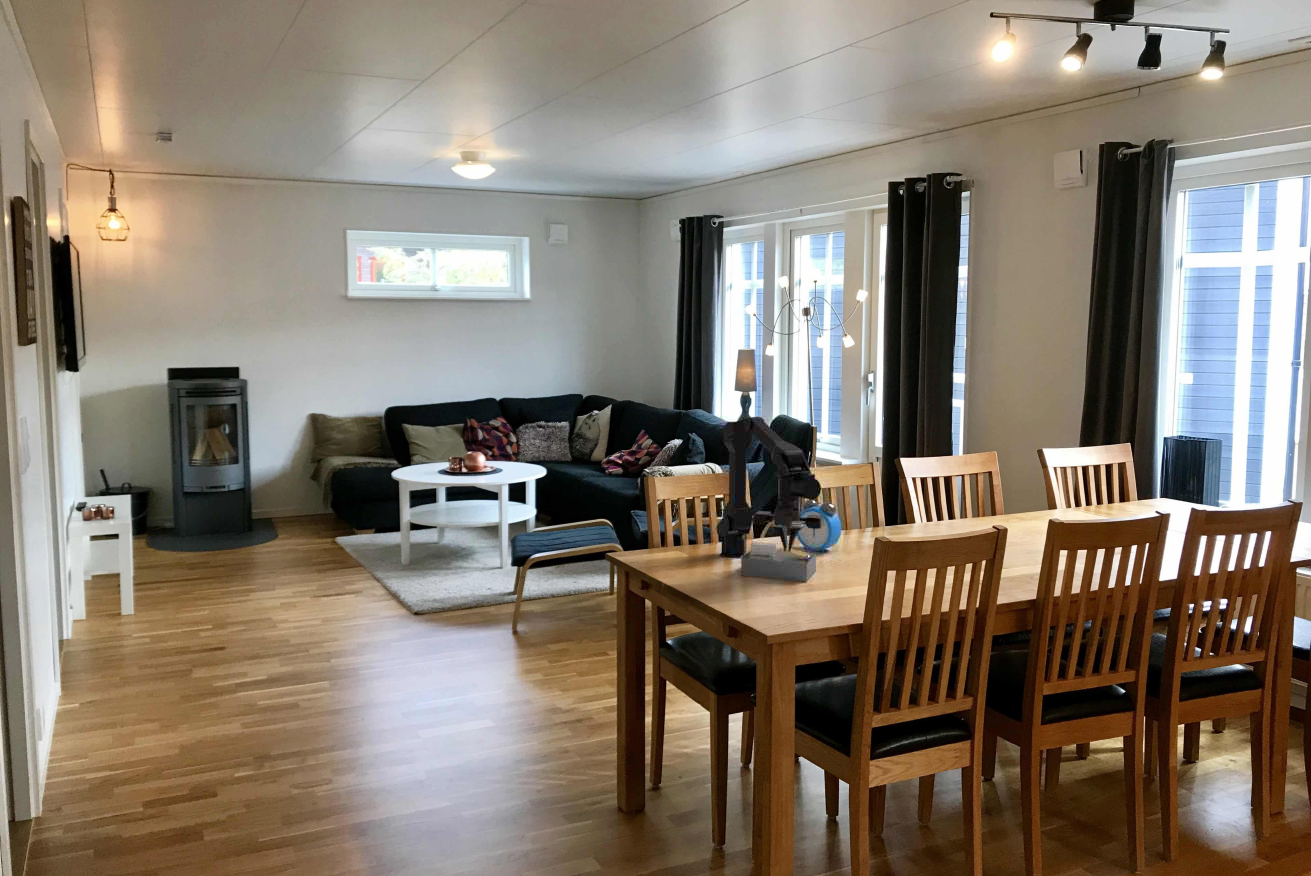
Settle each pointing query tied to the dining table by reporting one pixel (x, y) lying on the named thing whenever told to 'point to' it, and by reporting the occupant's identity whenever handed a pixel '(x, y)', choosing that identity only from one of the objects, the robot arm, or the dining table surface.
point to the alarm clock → (827, 533)
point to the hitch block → (778, 567)
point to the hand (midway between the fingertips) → (787, 550)
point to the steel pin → (763, 549)
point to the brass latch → (796, 553)
